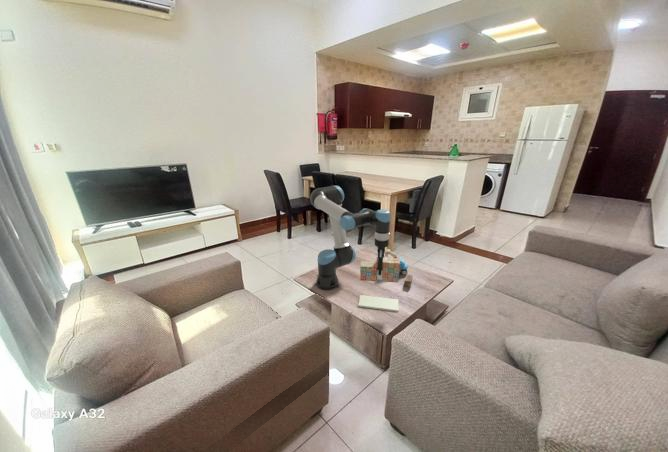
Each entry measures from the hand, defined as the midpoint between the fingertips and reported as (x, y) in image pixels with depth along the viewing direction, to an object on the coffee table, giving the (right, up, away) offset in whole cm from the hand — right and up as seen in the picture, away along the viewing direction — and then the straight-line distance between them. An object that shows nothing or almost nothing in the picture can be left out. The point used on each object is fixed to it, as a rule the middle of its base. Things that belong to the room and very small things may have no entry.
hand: (379, 275), depth 146 cm
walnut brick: (+23, -11, +25) cm, 36 cm away
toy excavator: (+19, -5, +41) cm, 45 cm away
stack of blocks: (0, -2, +1) cm, 2 cm away
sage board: (0, -18, +7) cm, 19 cm away
